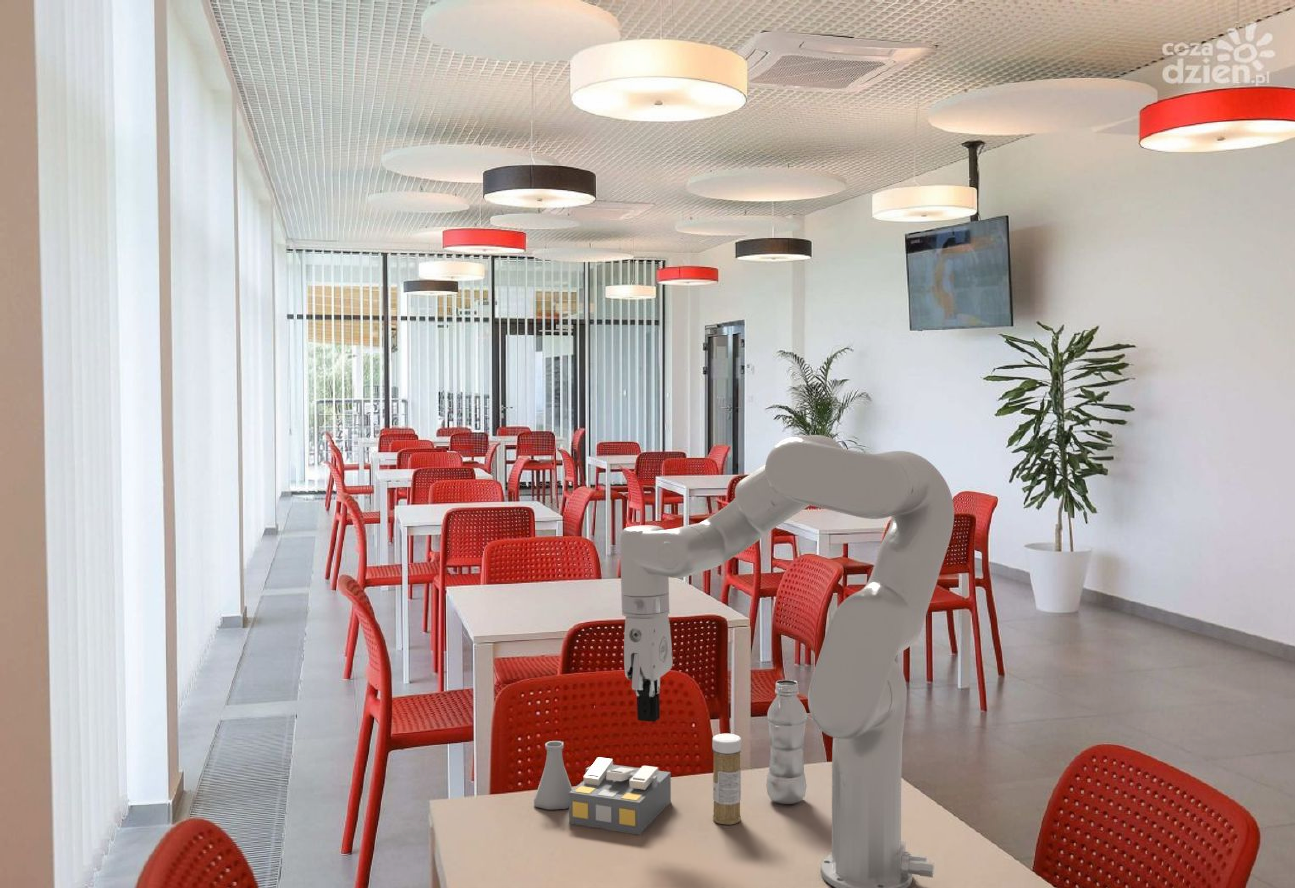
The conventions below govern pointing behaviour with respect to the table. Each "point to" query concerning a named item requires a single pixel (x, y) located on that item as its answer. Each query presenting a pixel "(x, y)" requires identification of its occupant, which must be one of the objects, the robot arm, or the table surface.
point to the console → (619, 803)
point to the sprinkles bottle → (726, 778)
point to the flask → (553, 780)
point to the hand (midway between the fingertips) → (648, 719)
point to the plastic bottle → (786, 745)
